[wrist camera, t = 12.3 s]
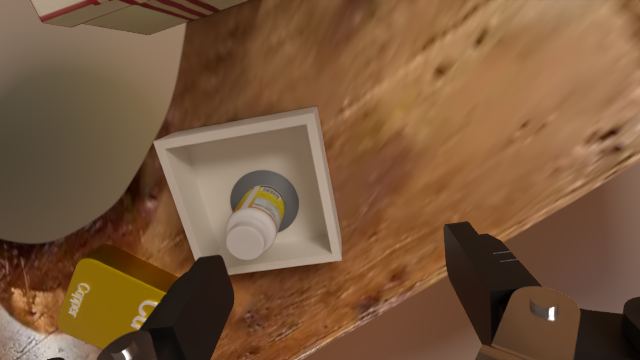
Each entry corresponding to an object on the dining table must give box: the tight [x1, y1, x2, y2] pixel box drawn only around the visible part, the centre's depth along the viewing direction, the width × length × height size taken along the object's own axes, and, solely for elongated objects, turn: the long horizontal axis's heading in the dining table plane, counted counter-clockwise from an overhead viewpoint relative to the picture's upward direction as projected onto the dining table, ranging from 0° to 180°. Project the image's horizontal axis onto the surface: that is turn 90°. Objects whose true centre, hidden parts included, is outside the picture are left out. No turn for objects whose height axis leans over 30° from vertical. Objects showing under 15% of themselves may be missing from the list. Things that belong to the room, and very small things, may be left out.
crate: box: [153, 106, 342, 275], centre depth 41 cm, size 18×18×6 cm
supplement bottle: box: [226, 185, 285, 260], centre depth 39 cm, size 6×6×10 cm
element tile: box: [57, 244, 179, 349], centre depth 49 cm, size 15×15×5 cm
